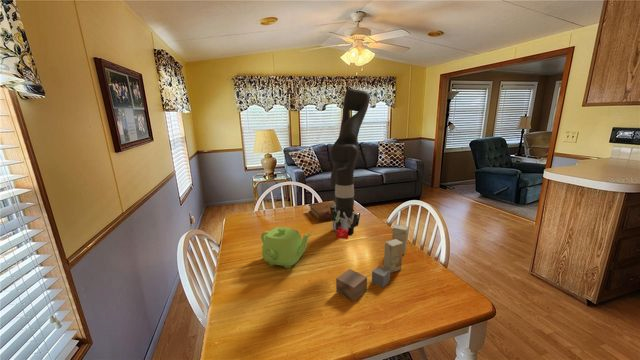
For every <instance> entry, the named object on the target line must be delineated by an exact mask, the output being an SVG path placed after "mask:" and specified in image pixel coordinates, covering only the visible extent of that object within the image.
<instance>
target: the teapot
mask: <svg viewBox="0 0 640 360" xmlns="http://www.w3.org/2000/svg"><path fill="white" fill-rule="evenodd" d="M312 235H313V234H312V233H306V234H303V237H302V236H301V234H300V232H299V230H298V229H296V228H292V227H291V228H290V227H285V226H278V227H274V228H273V229H271V230H270V231H269V230H266V231H265V230H264V231H263V232H262V233H261V235H260V238H261V242H262V243H263V244H262V245H261V248H262V251H261V255H262V258H263V260H265V262H266V263H268V265H269V266H270V265H271V267H274V266H281V267H284V269H287V270H289V269H291V268H293V266H294V265H295V264H297V262H298V261H299V259H300V258H301V257H302V255H303V254H304V253H305V251H306V250H307V247H308V238H309V237H311V236H312Z"/></svg>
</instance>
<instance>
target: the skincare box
mask: <svg viewBox="0 0 640 360" xmlns="http://www.w3.org/2000/svg"><path fill="white" fill-rule="evenodd" d="M402 251H403V243H402V242H401V241H399V240H397V239H394V240H392V239H391V240H388V241H385V242H384V253H383V254H384V256H383V268H386V269H388V270H390V274H391V273H394V272H397V271H400V270H402V263H403V254H402Z"/></svg>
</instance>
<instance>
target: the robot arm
mask: <svg viewBox="0 0 640 360" xmlns="http://www.w3.org/2000/svg"><path fill="white" fill-rule="evenodd" d="M370 99H371V94H370V92H369V91H365V90H361V89H355V88H348V89H347V90H346V91H345V94H344V99H343V108H342V116H341V117H342V118H341V125H340V130H339V135H338V138H337V139H336V141H335V142H334V144H333V145H332V147H331V149H330V159H331V160H332V162H334V163H333V167H332V169H331V174H330V178H329V179H330V181H329V182H330V183H329V184H330V187H331V188H332V190H334V195H333V200H334V206H332V207H330V210H331V216H332V220H331V221H332V230H333V231H334V232H335V233H336V230H338V227H342V228H343V229H348V235H349V236H350V237H352V236H353V235H354V234H355V233H354V232H355V229H354V228H356V227H358V226H359V222H360V217H361V213H360V212H356V211H355V210H354V206H355V187H354V186H355V185H354V172H355V167H356V164H357V160H358V158H359V157H358V156H359V148H358V146H357V145H358V140H359V139H358V137H359V133H360V129H361V126H362V124H363V122H364V119H365V116H366V114H367V111H368V108H369V105H370ZM351 111H352V112H356V113H355V114H354V115H352V116H351ZM346 165H347V166H346ZM352 215H353V216H352ZM349 236H348V237H349Z"/></svg>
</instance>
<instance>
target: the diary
mask: <svg viewBox="0 0 640 360" xmlns="http://www.w3.org/2000/svg"><path fill="white" fill-rule="evenodd" d="M308 206H309V208H310V210H309V211H308V212H309V214H310V215H312V216H313V217H314V218H315V220H316V221H318V223H320V222H325V221H333V220H332V216H331V210H330V207H332V206H334V199H333V200H329V201H322V202H315V203H309V204H308ZM352 216H353V215H352Z"/></svg>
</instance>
